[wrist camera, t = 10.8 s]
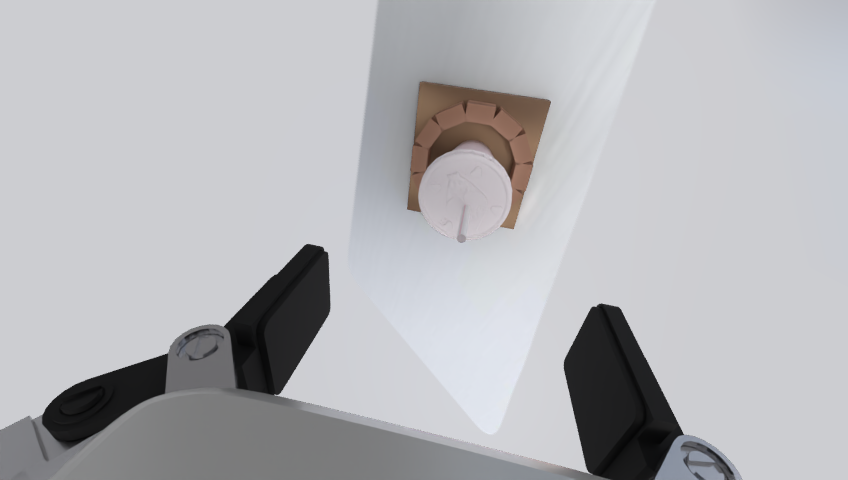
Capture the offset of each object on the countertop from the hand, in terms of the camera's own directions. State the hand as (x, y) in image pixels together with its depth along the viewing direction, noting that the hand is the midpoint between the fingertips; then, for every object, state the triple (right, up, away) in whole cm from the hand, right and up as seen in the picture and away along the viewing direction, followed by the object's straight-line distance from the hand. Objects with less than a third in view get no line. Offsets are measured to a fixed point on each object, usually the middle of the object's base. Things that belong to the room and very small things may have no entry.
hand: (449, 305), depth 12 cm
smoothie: (+4, +10, +19) cm, 21 cm away
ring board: (+4, +10, +20) cm, 23 cm away
